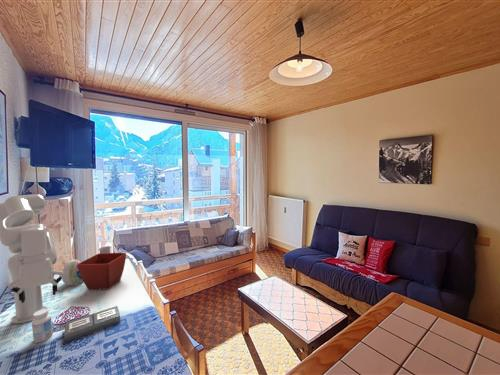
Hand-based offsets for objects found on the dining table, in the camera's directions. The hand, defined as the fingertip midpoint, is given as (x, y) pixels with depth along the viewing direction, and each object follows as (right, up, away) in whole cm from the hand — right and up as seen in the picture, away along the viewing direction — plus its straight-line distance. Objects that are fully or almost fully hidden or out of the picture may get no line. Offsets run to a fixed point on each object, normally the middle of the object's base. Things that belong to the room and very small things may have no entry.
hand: (39, 297), depth 96 cm
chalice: (-11, -14, +63) cm, 66 cm away
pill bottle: (+1, -18, +1) cm, 18 cm away
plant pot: (-2, -15, +47) cm, 49 cm away
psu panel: (+17, -16, +8) cm, 25 cm away
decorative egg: (-24, -15, +51) cm, 58 cm away
